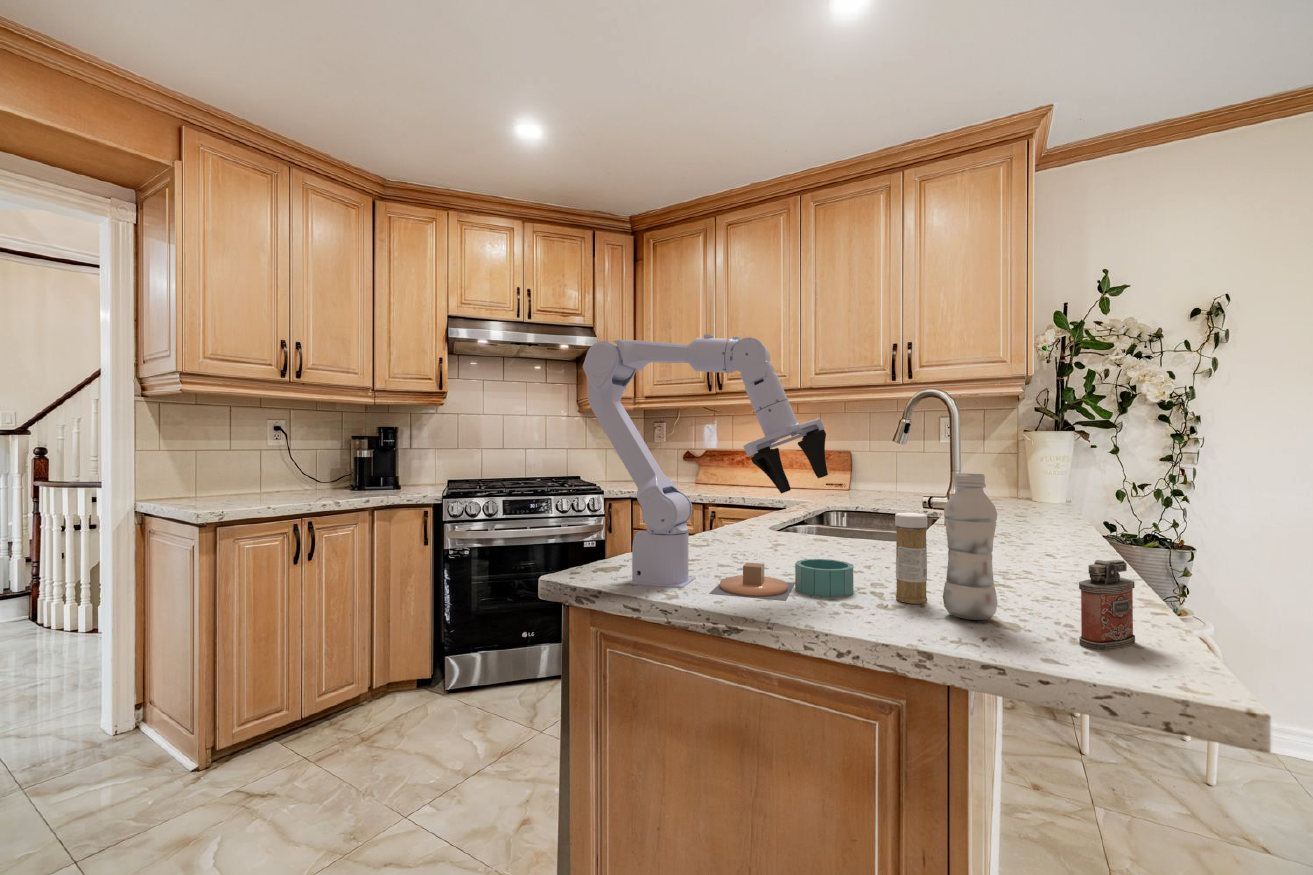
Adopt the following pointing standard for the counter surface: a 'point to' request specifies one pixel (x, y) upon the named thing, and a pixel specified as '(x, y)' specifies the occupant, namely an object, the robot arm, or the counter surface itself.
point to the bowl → (824, 577)
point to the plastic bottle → (970, 550)
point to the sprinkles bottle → (911, 557)
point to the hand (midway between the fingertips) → (804, 484)
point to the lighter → (1106, 607)
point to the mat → (782, 597)
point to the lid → (753, 583)
